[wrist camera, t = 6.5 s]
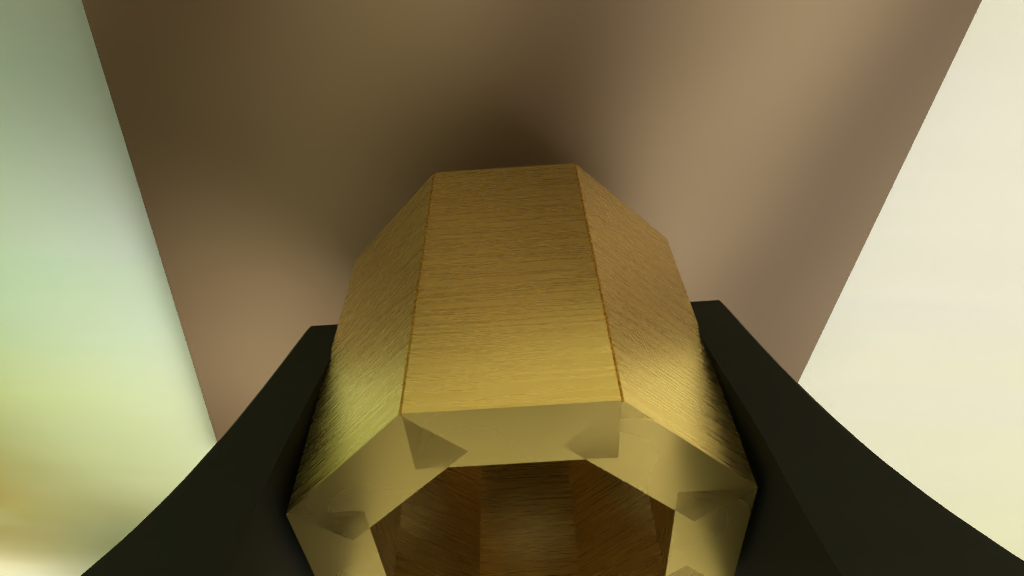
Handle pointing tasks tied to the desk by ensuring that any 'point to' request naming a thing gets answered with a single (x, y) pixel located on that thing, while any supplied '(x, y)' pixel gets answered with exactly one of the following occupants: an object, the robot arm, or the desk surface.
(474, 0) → the post stand
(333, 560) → the brass bushing
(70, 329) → the desk surface
